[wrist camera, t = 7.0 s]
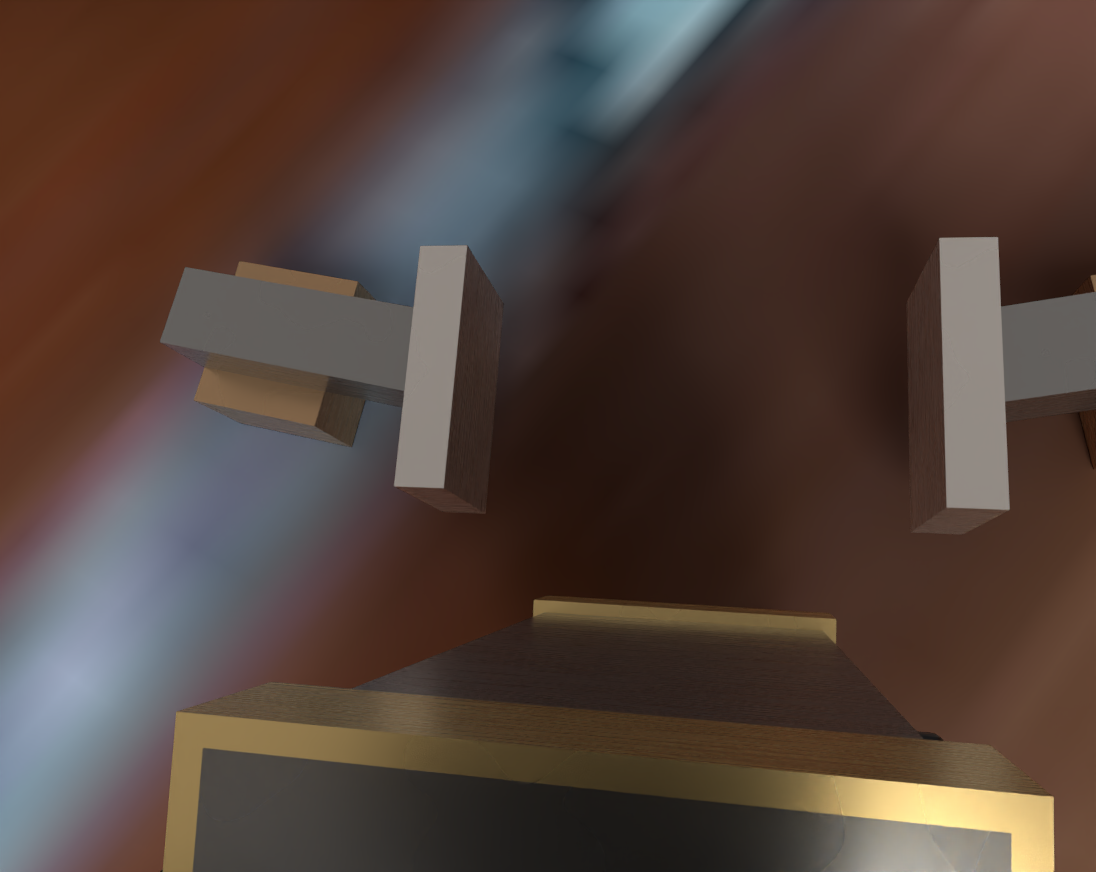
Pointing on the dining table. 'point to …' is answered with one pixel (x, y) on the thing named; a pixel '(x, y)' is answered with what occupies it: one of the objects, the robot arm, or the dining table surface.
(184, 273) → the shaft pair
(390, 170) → the dining table surface
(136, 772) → the dining table surface
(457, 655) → the block
